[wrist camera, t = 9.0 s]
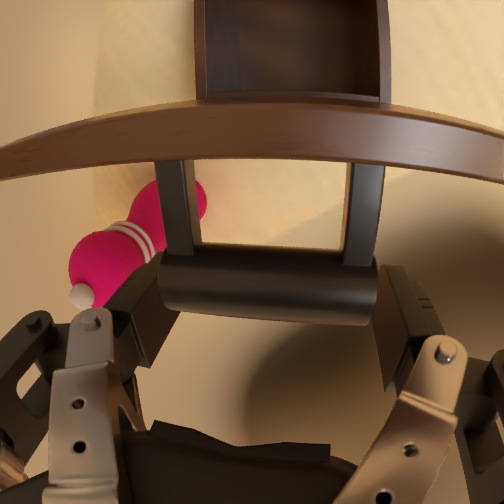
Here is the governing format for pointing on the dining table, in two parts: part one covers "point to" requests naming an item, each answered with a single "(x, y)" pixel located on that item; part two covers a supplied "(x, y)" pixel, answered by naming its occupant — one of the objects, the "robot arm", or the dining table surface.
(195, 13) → the chest
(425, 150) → the lid
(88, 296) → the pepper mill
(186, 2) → the dining table surface
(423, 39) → the dining table surface
